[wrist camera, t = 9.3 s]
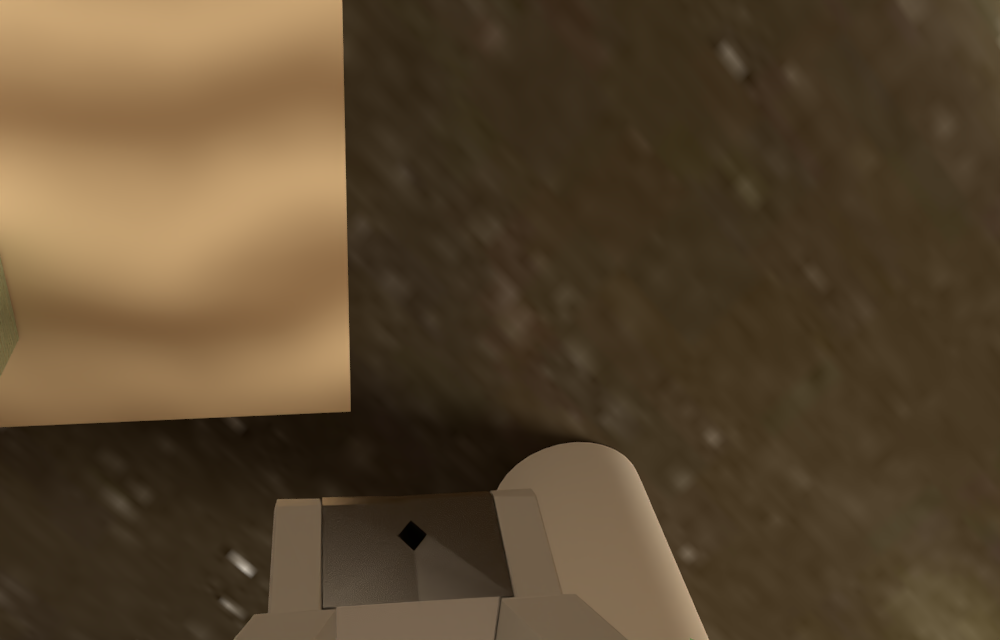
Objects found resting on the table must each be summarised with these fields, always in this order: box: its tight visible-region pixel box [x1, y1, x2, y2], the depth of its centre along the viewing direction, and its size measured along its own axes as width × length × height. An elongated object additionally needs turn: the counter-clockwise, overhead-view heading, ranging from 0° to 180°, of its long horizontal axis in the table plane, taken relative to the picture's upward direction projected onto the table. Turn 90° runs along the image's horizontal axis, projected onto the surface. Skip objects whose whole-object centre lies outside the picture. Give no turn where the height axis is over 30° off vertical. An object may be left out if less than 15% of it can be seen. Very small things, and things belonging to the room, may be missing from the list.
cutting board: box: [0, 0, 351, 427], centre depth 30 cm, size 26×20×2 cm
